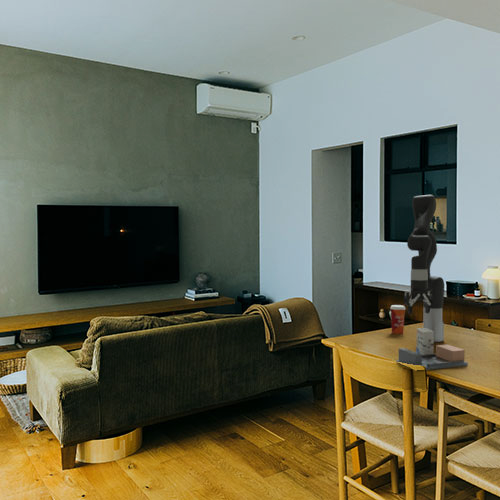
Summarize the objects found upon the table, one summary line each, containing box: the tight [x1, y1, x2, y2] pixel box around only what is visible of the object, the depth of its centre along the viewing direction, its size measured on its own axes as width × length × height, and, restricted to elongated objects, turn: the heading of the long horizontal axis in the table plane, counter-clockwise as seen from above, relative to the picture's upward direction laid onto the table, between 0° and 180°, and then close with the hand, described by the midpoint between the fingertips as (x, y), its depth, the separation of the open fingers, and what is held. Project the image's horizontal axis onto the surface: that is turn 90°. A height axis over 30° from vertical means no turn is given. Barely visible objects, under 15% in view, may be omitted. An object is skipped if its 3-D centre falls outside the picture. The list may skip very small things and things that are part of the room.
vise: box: [395, 347, 469, 371], centre depth 222 cm, size 26×14×6 cm, turn 108°
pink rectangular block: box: [435, 344, 466, 361], centre depth 225 cm, size 6×11×5 cm, turn 18°
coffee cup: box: [389, 304, 406, 335], centre depth 285 cm, size 8×8×15 cm
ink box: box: [415, 327, 435, 355], centre depth 237 cm, size 9×5×12 cm, turn 5°
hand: (418, 313), depth 238 cm, fingers open, 8 cm apart
